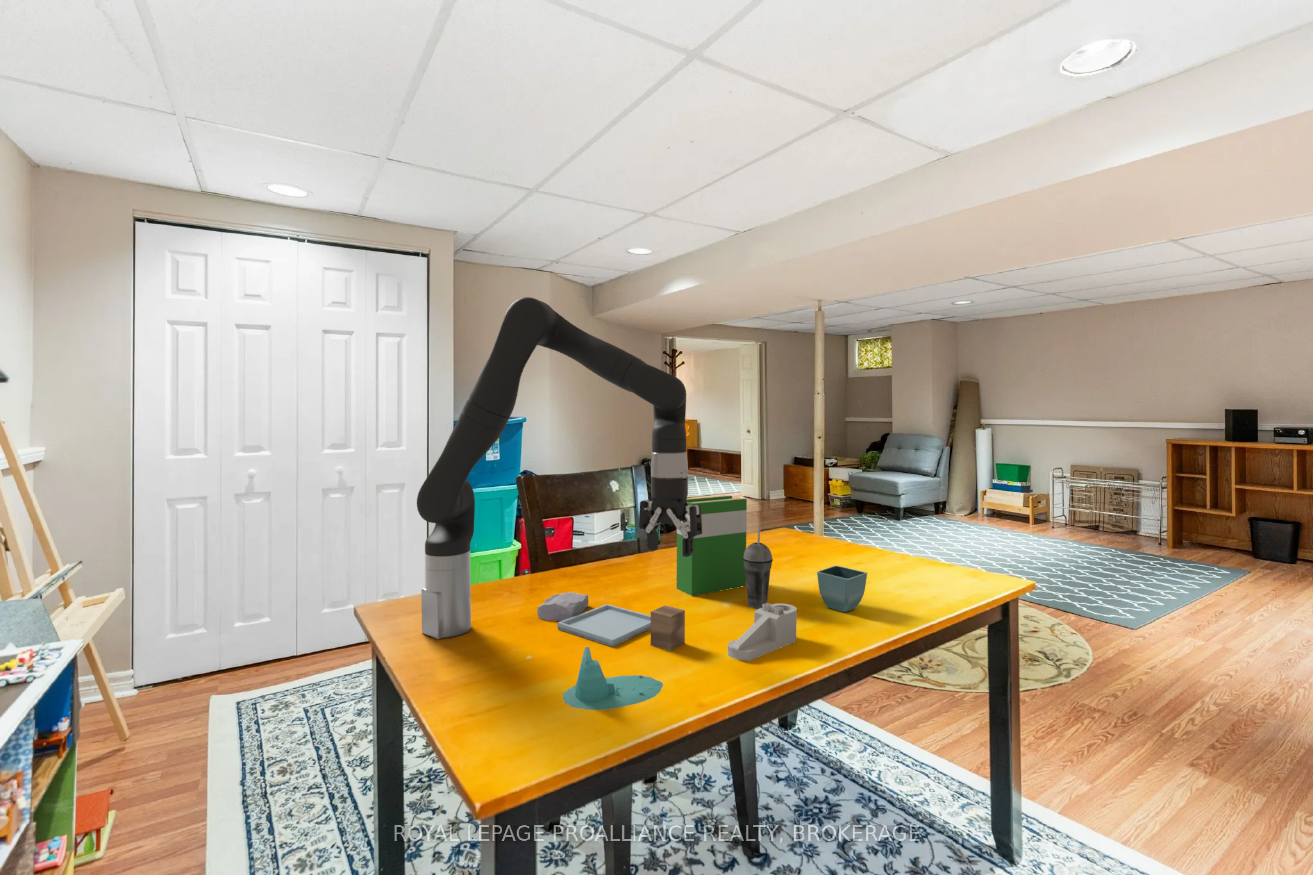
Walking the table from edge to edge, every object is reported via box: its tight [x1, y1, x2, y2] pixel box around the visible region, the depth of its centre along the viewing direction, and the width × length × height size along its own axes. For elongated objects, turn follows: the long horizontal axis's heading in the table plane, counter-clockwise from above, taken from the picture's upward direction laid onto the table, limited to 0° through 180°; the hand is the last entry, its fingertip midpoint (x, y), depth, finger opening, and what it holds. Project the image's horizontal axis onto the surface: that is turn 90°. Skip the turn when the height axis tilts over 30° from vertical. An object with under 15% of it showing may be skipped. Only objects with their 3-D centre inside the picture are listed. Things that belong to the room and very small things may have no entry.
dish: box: [557, 603, 651, 648], centre depth 131 cm, size 16×16×1 cm
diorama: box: [562, 646, 664, 711], centre depth 101 cm, size 12×20×9 cm, turn 112°
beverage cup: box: [743, 523, 774, 609], centre depth 145 cm, size 7×7×20 cm
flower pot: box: [816, 565, 868, 613], centre depth 144 cm, size 9×9×9 cm
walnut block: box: [650, 605, 686, 652], centre depth 121 cm, size 5×5×7 cm
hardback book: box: [676, 495, 748, 597], centre depth 160 cm, size 18×7×24 cm, turn 120°
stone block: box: [536, 591, 589, 622], centre depth 140 cm, size 12×5×10 cm
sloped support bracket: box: [727, 602, 798, 662], centre depth 120 cm, size 6×18×8 cm, turn 130°
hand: (669, 553), depth 121 cm, fingers open, 8 cm apart
